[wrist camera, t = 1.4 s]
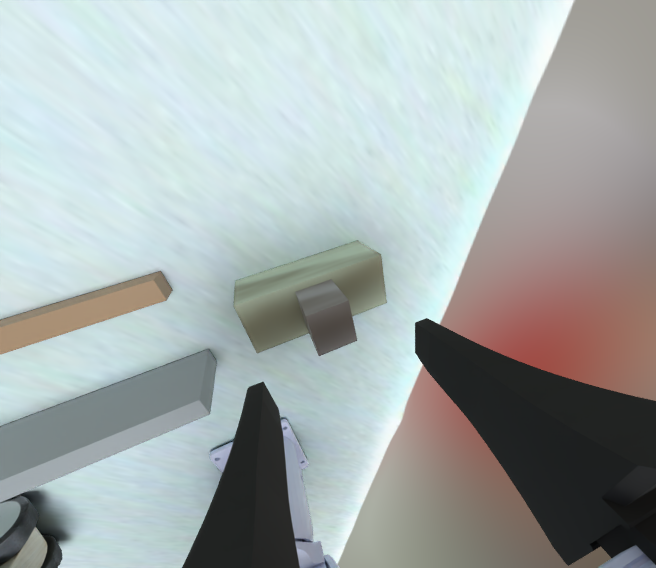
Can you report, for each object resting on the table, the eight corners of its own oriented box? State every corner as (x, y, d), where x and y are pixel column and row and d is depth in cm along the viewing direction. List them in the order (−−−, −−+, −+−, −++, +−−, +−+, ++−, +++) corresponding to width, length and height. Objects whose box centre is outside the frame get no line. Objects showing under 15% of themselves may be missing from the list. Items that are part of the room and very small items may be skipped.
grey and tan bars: (216, 361, 20) (210, 414, 16) (-44, 461, 17) (-142, 562, 12) (160, 271, 16) (130, 308, 12) (-199, 380, 13) (-425, 488, 8)
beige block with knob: (363, 281, 22) (410, 324, 16) (254, 321, 20) (259, 387, 14) (356, 240, 20) (407, 270, 14) (234, 279, 18) (231, 335, 12)
